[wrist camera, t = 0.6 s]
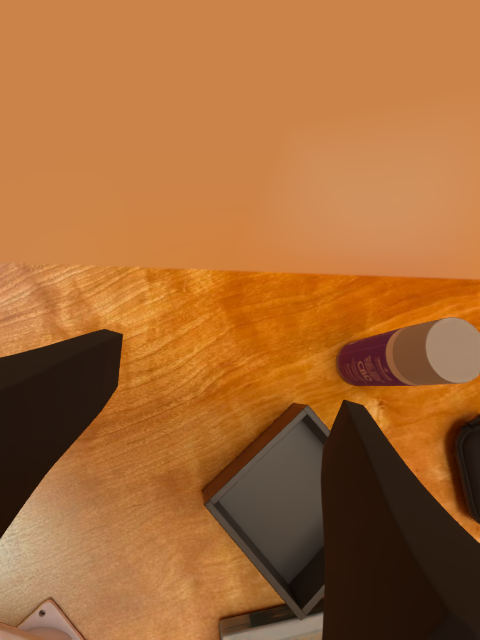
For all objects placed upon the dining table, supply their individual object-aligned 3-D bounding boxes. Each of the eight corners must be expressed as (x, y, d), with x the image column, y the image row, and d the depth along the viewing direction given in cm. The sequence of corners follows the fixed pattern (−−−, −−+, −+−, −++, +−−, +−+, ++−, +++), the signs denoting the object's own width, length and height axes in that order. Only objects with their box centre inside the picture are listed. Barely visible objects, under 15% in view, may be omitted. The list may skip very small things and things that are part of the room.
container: (327, 369, 39) (411, 358, 24) (350, 333, 40) (443, 301, 25) (364, 394, 39) (469, 399, 24) (385, 358, 40) (498, 341, 25)
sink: (286, 592, 35) (301, 621, 30) (201, 490, 35) (203, 505, 31) (374, 495, 37) (399, 510, 33) (293, 402, 38) (307, 404, 33)
